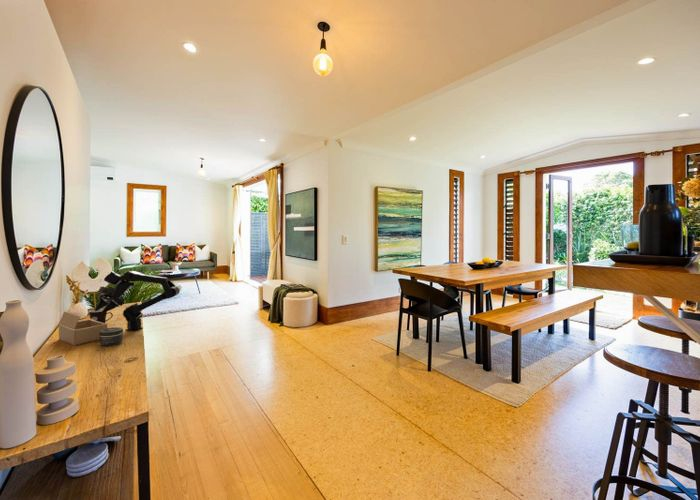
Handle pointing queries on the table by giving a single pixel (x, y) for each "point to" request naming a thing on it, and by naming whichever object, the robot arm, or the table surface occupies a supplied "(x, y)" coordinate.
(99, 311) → the coffee mug
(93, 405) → the table surface
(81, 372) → the table surface
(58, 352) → the table surface
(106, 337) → the jar
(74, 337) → the shipping carton
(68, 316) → the carton flap
